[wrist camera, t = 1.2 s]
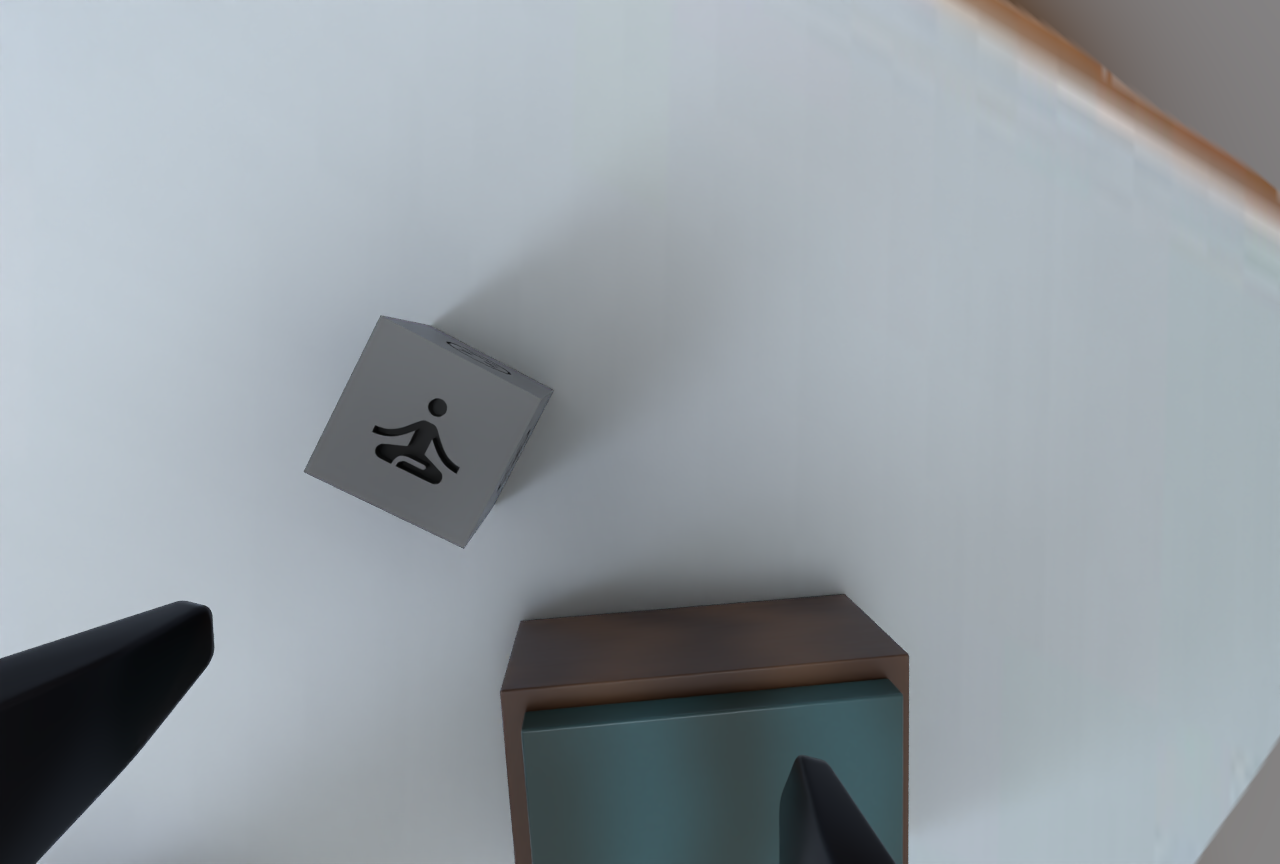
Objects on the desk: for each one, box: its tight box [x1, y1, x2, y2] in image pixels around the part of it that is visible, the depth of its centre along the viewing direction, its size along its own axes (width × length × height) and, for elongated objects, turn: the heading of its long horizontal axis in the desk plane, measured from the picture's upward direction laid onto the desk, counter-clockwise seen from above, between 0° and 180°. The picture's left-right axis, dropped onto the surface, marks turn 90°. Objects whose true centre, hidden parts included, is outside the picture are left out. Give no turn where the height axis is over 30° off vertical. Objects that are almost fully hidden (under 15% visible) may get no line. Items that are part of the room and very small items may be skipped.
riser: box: [500, 594, 909, 864], centre depth 21 cm, size 13×12×6 cm
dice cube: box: [304, 316, 554, 549], centre depth 20 cm, size 5×5×5 cm
